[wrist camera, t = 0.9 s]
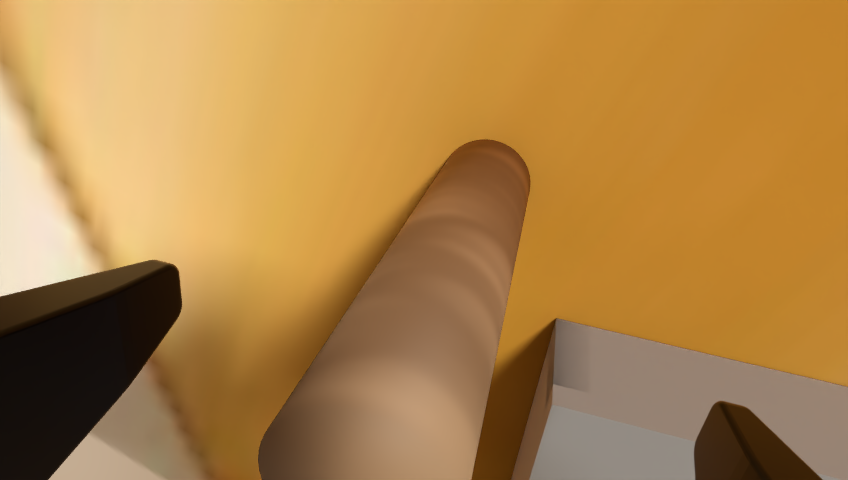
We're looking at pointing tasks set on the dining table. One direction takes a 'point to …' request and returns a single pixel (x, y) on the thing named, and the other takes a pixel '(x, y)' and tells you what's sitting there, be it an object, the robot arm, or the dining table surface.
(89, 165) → the dining table surface
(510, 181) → the tan rounded rod
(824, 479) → the panel
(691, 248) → the dining table surface
